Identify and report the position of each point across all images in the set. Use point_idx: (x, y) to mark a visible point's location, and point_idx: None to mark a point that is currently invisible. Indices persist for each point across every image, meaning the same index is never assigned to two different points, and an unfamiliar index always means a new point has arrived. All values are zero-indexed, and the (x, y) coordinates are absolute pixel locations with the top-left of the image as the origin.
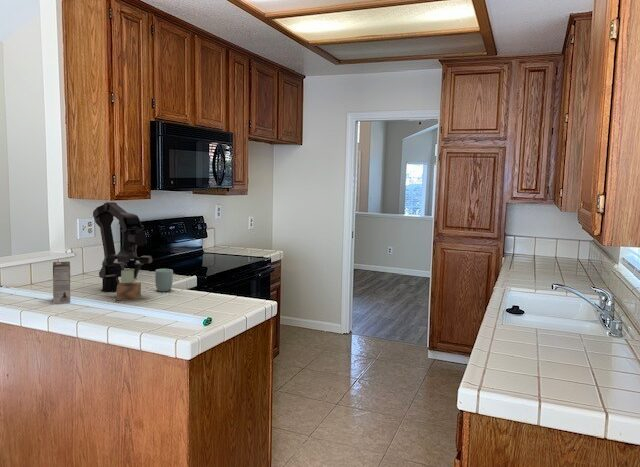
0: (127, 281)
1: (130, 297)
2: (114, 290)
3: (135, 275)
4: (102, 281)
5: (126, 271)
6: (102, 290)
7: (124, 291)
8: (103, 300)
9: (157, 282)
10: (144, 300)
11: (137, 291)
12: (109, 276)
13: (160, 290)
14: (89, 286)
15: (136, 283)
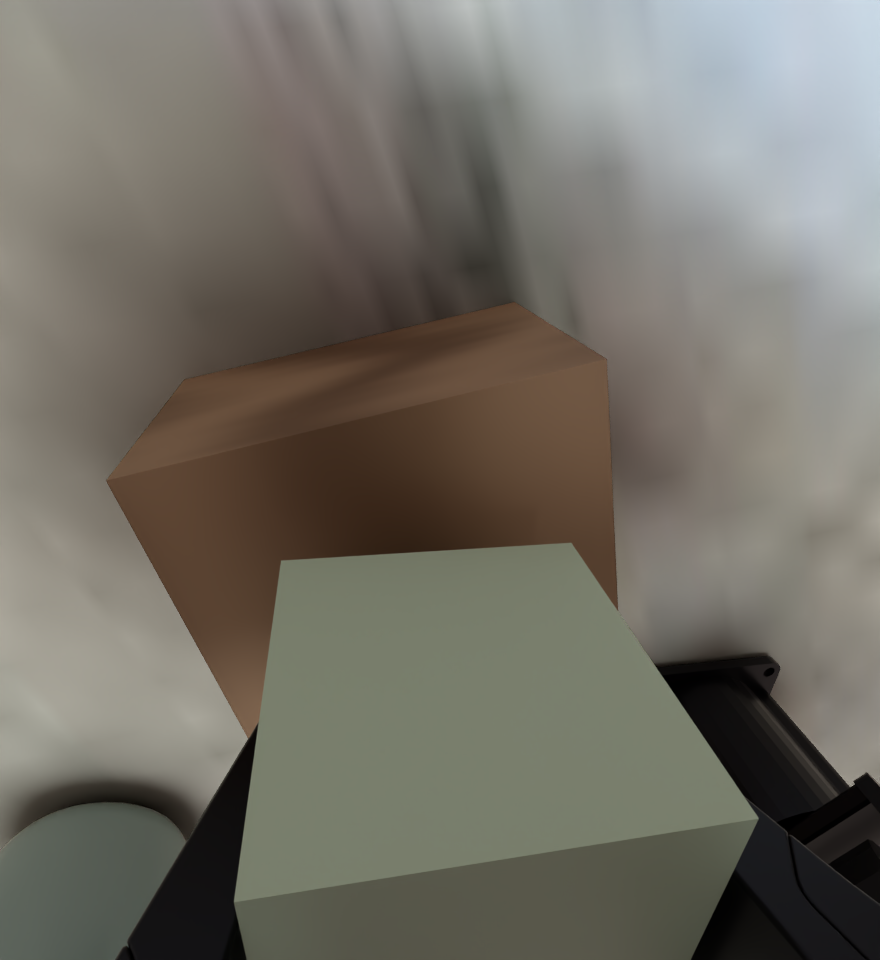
0: (420, 562)
1: (308, 360)
2: None
3: (228, 791)
4: (835, 771)
5: (529, 820)
6: (761, 662)
7: (418, 366)
8: (691, 222)
9: (107, 915)
10: (41, 324)
11: (166, 423)
12: (812, 848)
13: (107, 806)
14: (871, 769)
15: None
